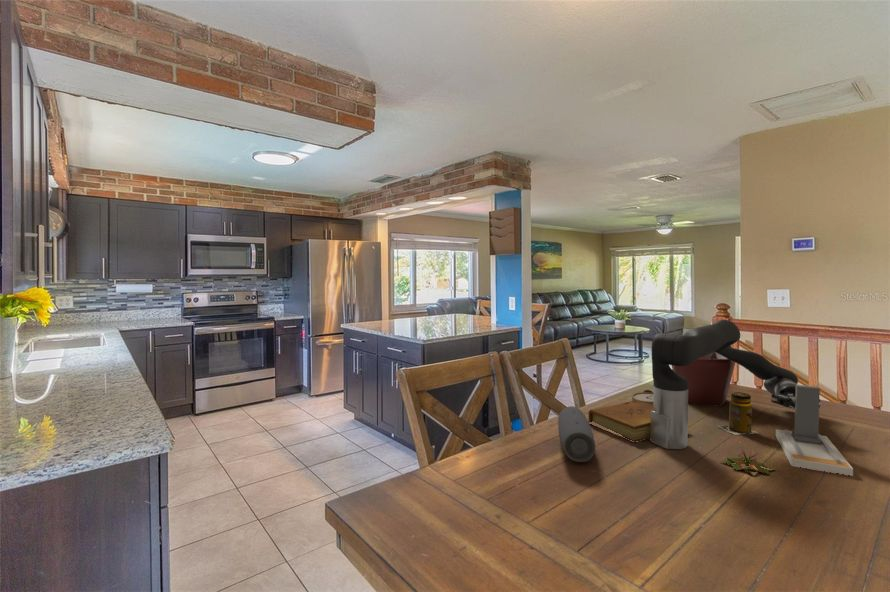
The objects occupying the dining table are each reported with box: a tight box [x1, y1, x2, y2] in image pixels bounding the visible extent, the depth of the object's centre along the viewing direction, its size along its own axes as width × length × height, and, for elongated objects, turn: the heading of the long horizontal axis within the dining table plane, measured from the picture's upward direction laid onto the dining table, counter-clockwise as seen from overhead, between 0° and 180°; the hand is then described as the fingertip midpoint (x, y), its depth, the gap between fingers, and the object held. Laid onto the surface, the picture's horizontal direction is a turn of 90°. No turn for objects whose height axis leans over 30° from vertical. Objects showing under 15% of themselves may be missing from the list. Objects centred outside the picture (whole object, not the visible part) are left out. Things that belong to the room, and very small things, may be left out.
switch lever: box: [791, 384, 821, 444], centre depth 123 cm, size 4×6×16 cm, turn 60°
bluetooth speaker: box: [557, 405, 596, 463], centre depth 124 cm, size 23×9×10 cm, turn 168°
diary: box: [588, 400, 653, 443], centre depth 142 cm, size 23×19×6 cm
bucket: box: [671, 345, 736, 406], centre depth 170 cm, size 24×22×25 cm
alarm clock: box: [629, 389, 654, 405], centre depth 166 cm, size 11×5×15 cm
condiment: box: [716, 391, 758, 436], centre depth 137 cm, size 7×8×12 cm
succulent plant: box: [720, 449, 775, 475], centre depth 112 cm, size 12×12×5 cm
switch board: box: [775, 428, 854, 477], centre depth 119 cm, size 24×12×3 cm, turn 150°
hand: (801, 408), depth 128 cm, fingers closed
